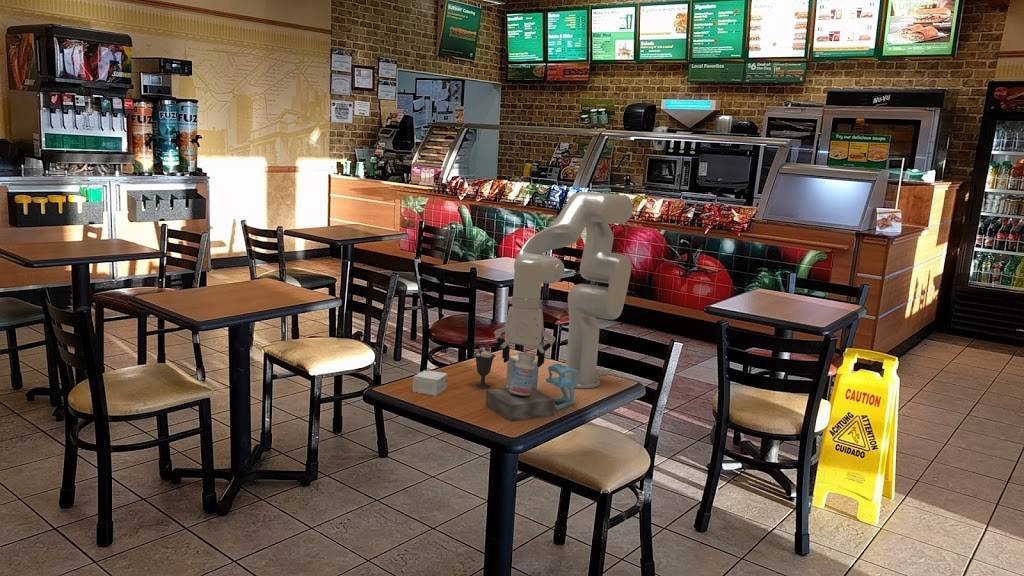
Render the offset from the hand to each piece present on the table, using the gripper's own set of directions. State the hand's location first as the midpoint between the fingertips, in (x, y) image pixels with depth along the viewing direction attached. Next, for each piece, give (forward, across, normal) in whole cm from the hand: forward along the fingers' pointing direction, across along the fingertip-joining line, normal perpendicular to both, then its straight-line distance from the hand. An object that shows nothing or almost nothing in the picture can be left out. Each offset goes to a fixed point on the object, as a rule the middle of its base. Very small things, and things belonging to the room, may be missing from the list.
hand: (522, 363), depth 216 cm
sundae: (+14, -16, +16) cm, 27 cm away
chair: (+14, +9, +10) cm, 19 cm away
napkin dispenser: (+14, -4, +17) cm, 22 cm away
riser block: (+14, 0, 0) cm, 14 cm away
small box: (+14, -29, +5) cm, 33 cm away
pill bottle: (+9, 0, 0) cm, 9 cm away
